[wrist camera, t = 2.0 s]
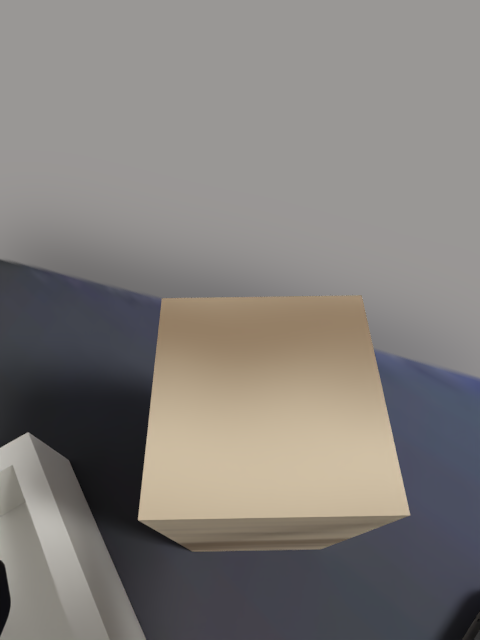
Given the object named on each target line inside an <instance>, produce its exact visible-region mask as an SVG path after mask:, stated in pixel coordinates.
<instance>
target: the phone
mask: <svg viewBox="0 0 480 640" xmlns="http://www.w3.org/2000/svg"><path fill="white" fill-rule="evenodd" d="M478 619H479V621H477V620H478ZM462 640H480V611H479V613H478V615H477V616H476V618H475V619H474V621H473V623H472V624H471V626H470V627H469V629H468V631H467V632H466V634H465V635H464V637H463V638H462Z"/></svg>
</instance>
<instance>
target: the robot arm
mask: <svg viewBox="0 0 480 640" xmlns="http://www.w3.org/2000/svg"><path fill="white" fill-rule="evenodd" d="M10 607H11V597H10V591H9V585H8V579H7V573H6V568H5V564H4V563H3V561H2V560H0V636H1V634H2V631H3V629H4V626H5V624H6V621H7V619H8V616H9V612H10Z"/></svg>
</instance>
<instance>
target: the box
mask: <svg viewBox="0 0 480 640" xmlns="http://www.w3.org/2000/svg"><path fill="white" fill-rule="evenodd" d="M0 560H2V561H3V563H4V564H5V568H6V573H7V579H8V585H9V591H10V597H11V607H10V612H9V616H8V619H7V621H6V624H5V626H4V629H3V631H2V634H1V636H0V640H146V638H145V636H144V633H143V631H142V629H141V626H140V624H139V622H138V620H137V617H136V615H135V613H134V610H133V608H132V606H131V603H130V601H129V599H128V596H127V594H126V592H125V589H124V587H123V585H122V582H121V580H120V578H119V575H118V573H117V571H116V568H115V566H114V564H113V562H112V559H111V557H110V555H109V552H108V550H107V548H106V545H105V543H104V541H103V538H102V536H101V534H100V531H99V529H98V527H97V524H96V522H95V520H94V517H93V515H92V513H91V510H90V508H89V506H88V503H87V501H86V499H85V497H84V494H83V492H82V490H81V487H80V485H79V483H78V480H77V478H76V476H75V473H74V471H73V469H72V466H71V464H70V462H69V460H68V459H67V458H65V457H64V456H62V455H61V454H59V453H58V452H56V451H55V450H53V449H52V448H51V447H49V446H48V445H46V444H45V443H43V442H42V441H40V440H39V439H38V438H36V437H35V436H33V435H32V434H30V433H29V432H27V433H26V434H24V435H22V436H20V437H19V438H17V439H15V440H13V441H11V442H10V443H8V444H6V445H4V446H3V447H1V448H0Z"/></svg>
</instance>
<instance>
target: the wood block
mask: <svg viewBox="0 0 480 640" xmlns="http://www.w3.org/2000/svg"><path fill="white" fill-rule="evenodd" d="M407 516H410V512H409V508H408V503H407V499H406V494H405V489H404V485H403V480H402V476H401V471H400V467H399V462H398V458H397V453H396V449H395V444H394V440H393V435H392V431H391V426H390V422H389V417H388V413H387V408H386V404H385V399H384V394H383V390H382V385H381V381H380V376H379V372H378V367H377V363H376V358H375V354H374V349H373V345H372V340H371V336H370V331H369V327H368V322H367V318H366V313H365V309H364V304H363V299H362V296H361V295H359V296H289V297H226V298H225V297H223V298H222V297H221V298H162V303H161V312H160V321H159V330H158V340H157V349H156V358H155V367H154V376H153V386H152V395H151V404H150V413H149V422H148V432H147V441H146V450H145V459H144V468H143V478H142V487H141V496H140V505H139V514H138V521H140V522H142V523H144V524H145V525H147V526H149V527H151V528H152V529H154V530H156V531H158V532H159V533H161V534H163V535H165V536H166V537H168V538H170V539H172V540H173V541H175V542H177V543H179V544H180V545H182V546H184V547H186V548H187V549H189V550H191V551H193V552H204V551H258V550H311V549H323V548H325V547H328V546H331V545H333V544H336V543H338V542H341V541H344V540H346V539H349V538H352V537H354V536H357V535H360V534H362V533H365V532H367V531H370V530H373V529H375V528H378V527H381V526H383V525H386V524H389V523H391V522H394V521H396V520H399V519H402V518H404V517H407Z"/></svg>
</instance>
